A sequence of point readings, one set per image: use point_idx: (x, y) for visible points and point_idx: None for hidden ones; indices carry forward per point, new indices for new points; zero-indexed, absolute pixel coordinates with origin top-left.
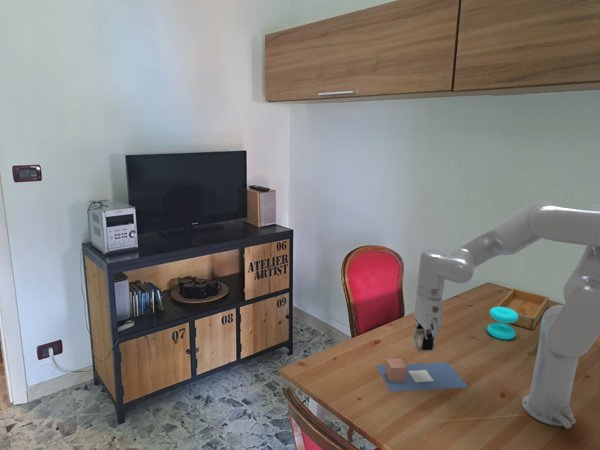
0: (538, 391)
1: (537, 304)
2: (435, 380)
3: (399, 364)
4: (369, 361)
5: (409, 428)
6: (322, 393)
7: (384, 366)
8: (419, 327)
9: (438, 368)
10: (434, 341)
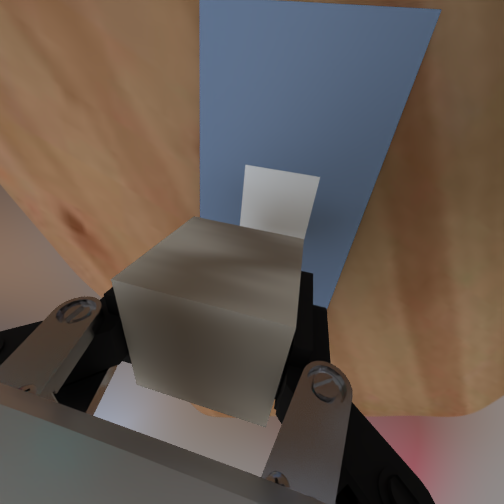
0: None
1: None
2: (318, 166)
3: None
4: None
5: (466, 361)
6: (273, 409)
7: None
8: (116, 362)
9: (243, 94)
10: (297, 289)
